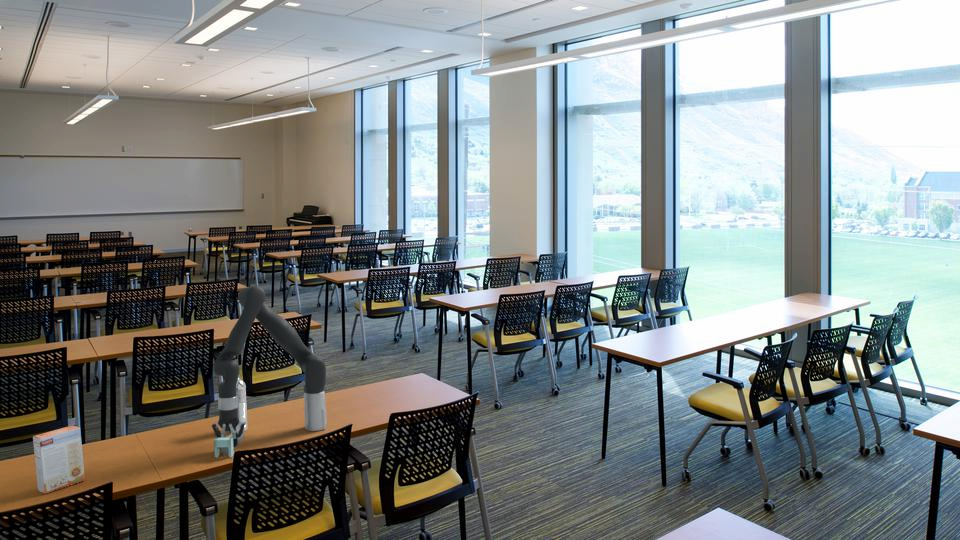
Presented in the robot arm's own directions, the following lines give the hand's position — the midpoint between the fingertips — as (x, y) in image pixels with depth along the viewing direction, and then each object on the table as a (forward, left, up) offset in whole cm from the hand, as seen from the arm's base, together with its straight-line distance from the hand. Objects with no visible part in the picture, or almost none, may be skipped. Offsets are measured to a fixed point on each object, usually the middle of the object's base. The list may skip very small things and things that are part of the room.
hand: (229, 446), depth 287 cm
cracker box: (+51, +33, -2) cm, 61 cm away
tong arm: (+1, -6, -1) cm, 6 cm away
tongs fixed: (0, -4, -1) cm, 4 cm away
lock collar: (0, +8, -1) cm, 8 cm away
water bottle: (+3, -24, -2) cm, 25 cm away
